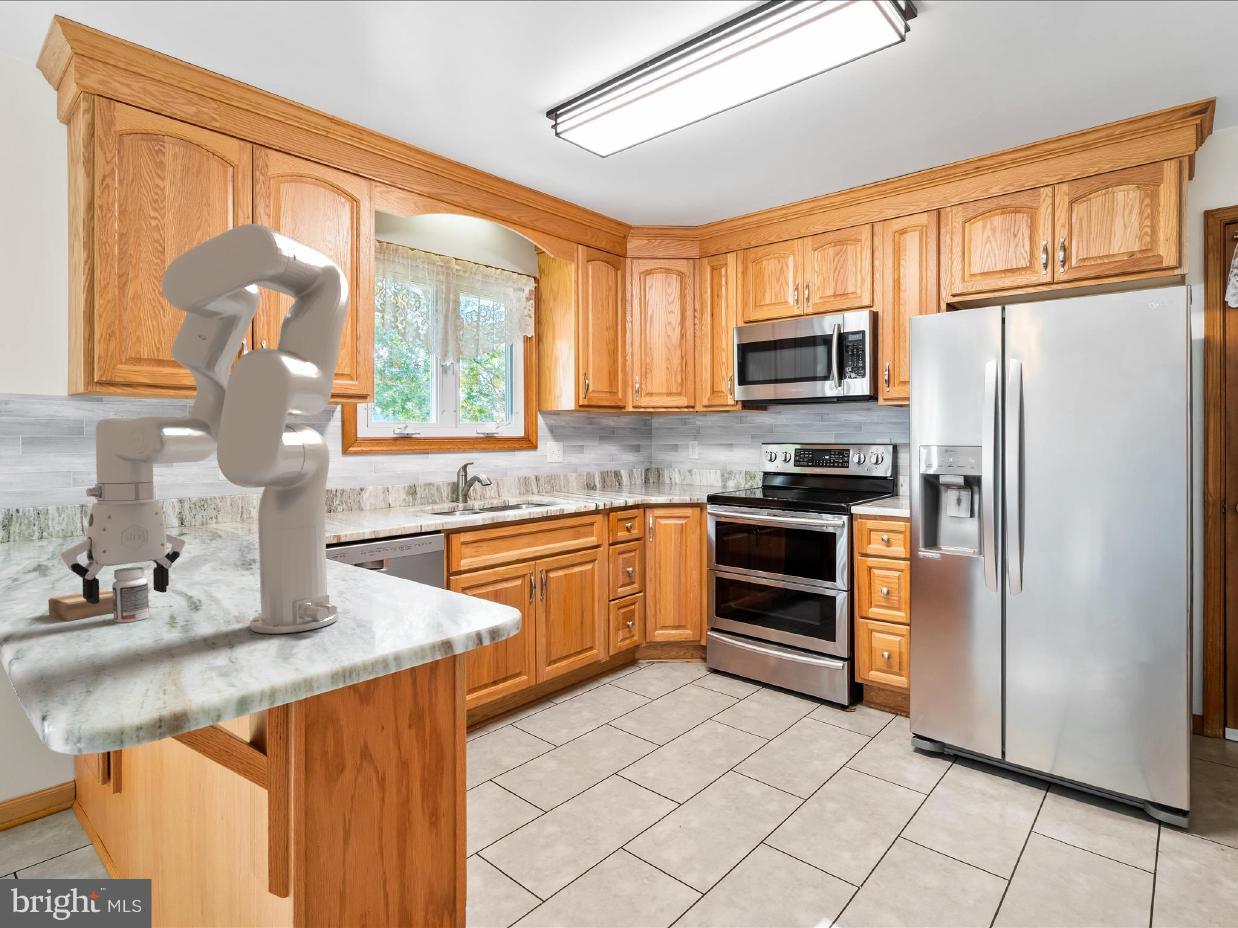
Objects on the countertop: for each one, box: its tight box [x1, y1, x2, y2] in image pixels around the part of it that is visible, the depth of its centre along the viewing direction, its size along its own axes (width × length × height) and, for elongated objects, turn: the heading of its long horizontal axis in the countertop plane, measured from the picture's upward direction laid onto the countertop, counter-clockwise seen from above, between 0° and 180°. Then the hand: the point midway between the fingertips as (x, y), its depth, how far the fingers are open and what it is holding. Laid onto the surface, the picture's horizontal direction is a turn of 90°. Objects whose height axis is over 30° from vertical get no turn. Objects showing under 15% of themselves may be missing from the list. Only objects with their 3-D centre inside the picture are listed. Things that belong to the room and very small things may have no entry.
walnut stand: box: [47, 588, 114, 622], centre depth 116 cm, size 8×8×3 cm
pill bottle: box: [112, 566, 150, 623], centre depth 111 cm, size 5×5×8 cm
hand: (127, 596), depth 112 cm, fingers open, 9 cm apart
